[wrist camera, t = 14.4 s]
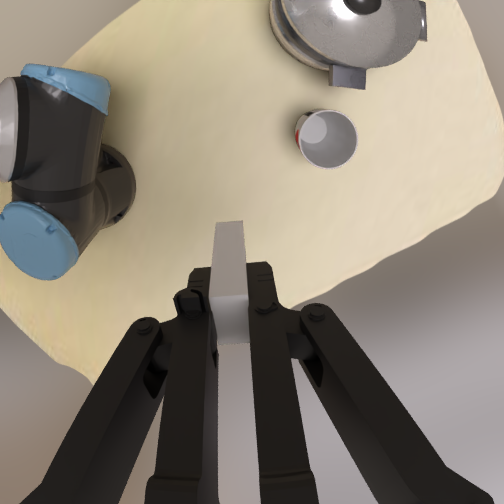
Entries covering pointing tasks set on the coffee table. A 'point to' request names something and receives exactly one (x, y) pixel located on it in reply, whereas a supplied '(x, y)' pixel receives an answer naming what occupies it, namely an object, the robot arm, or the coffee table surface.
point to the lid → (359, 29)
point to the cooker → (312, 52)
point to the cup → (326, 138)
